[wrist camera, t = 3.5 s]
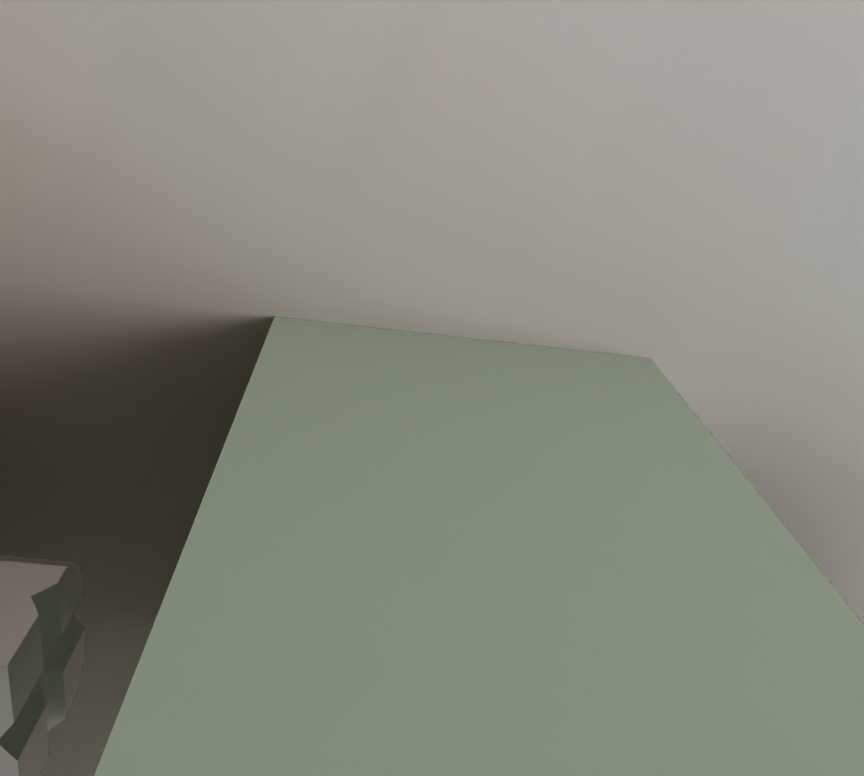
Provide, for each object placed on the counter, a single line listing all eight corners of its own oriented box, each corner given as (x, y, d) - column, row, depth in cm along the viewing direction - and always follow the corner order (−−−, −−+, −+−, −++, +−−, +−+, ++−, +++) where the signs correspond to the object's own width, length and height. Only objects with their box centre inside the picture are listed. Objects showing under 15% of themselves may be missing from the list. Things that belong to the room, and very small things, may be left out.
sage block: (650, 357, 11) (1030, 833, 4) (574, 647, 13) (759, 1264, 6) (274, 315, 10) (90, 785, 4) (256, 624, 12) (112, 1269, 6)
